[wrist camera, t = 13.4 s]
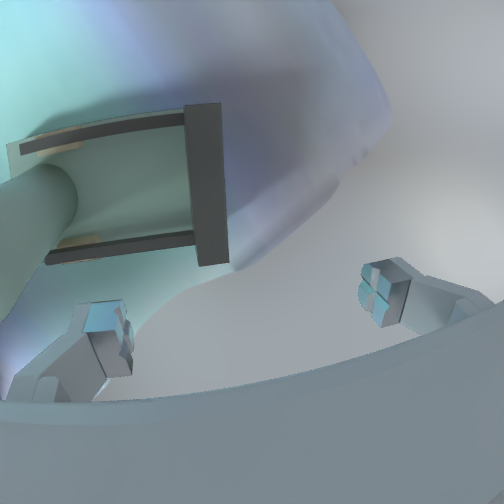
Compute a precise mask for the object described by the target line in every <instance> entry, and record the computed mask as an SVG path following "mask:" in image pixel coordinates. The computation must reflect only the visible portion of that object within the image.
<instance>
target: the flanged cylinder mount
mask: <svg viewBox="0 0 504 504" xmlns="http://www.w3.org/2000/svg"><path fill="white" fill-rule="evenodd" d="M173 113H183V108H182V109H173V110H164V111H156V112H148V113H141V114H135V115H128V116H122V117H116V118H111V119H105V120H100V121H95V122H90V123H85V124H80V125H76V126H71V127H67V128H63V129H59V130H55V131H51V132H47V133H43V134H40V135H36V136H32V137H29V138H25V139H22V140H19V141H15V142H12V143H9V144H6V146H7V153H8V160H9V166H10V172H11V178H12V179H10V180H9V181H7V182H5V183H3V184H2V185H0V322H1V321H2V320H4V319H5V318H6V317H7V316H8V314H9V313H10V311H11V310H12V308H13V306H14V305H15V303H16V301H17V300H18V298H19V296H20V295H21V293H22V291H23V290H24V288H25V287H26V285H27V284H28V282H29V281H30V279H31V277H32V276H33V274H34V273H35V271H36V270H37V268H38V267H39V266H40V264H41V263H42V262H44V258H45V257H46V255H47V254H48V253H49V251H50V250H54V249H60V248H67V247H73V246H80V245H86V244H93V243H100V242H106V241H113V240H120V239H127V238H134V237H142V236H149V235H156V234H164V233H171V232H179V231H187V230H193V224H192V214H191V204H190V194H189V183H188V171H187V158H186V145H185V130H184V125H181V126H172V127H164V128H156V129H148V130H141V131H135V132H128V133H122V134H116V135H110V136H105V137H99V138H94V139H89V140H84V141H79V142H75V143H70V144H66V145H61V146H57V147H53V148H49V149H45V150H41V151H37V152H33V153H30V154H26V155H22V156H20V149H19V144H22V143H25V142H28V141H32V140H35V139H39V138H43V137H47V136H51V135H55V134H59V133H63V132H67V131H71V130H76V129H80V128H85V127H90V126H95V125H100V124H105V123H111V122H117V121H122V120H129V119H135V118H142V117H149V116H157V115H165V114H173ZM221 124H222V119H221ZM222 145H223V141H222ZM223 165H224V161H223ZM224 183H225V179H224ZM225 201H226V197H225ZM226 217H227V214H226ZM227 233H228V230H227ZM96 259H100V258H95V259H88V260H81V261H74V262H67V263H61V264H68V263H75V262H82V261H89V260H96Z"/></svg>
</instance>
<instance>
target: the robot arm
mask: <svg viewBox="0 0 504 504" xmlns="http://www.w3.org/2000/svg"><path fill="white" fill-rule="evenodd" d="M361 276H362V278H363V281H362V282H361V283H360V285H359V289H358V297H359V302H360V304H361V306H362V307H363V308H364V309H365V310H366V311H369V312H371V313H372V315H371V317H372V318H373V320H374V321H375V322H376V323H377V324H378V325H379V326H380V328H383V327H386V326H390V325H394V324H397V323H400V324H401V325H403V326H405V327H407V328H408V329H410V330H412V331H414V332H416V333H418V334H420V335H422V336H419V337H417V338H414V339H411V340H409V341H406V342H403V343H400V344H397V345H394V346H391V347H388V348H385V349H382V350H379V351H376V352H373V353H370V354H367V355H364V356H360V357H357V358H353V359H350V360H347V361H343V362H340V363H336V364H333V365H329V366H325V367H322V368H317V369H314V370H310V371H306V372H302V373H298V374H294V375H289V376H285V377H280V378H276V379H271V380H266V381H261V382H256V383H251V384H246V385H240V386H235V387H229V388H223V389H217V390H211V391H204V392H197V393H191V394H182V395H174V396H166V397H158V398H146V399H134V400H121V401H120V400H119V401H101V402H91V401H92V399H93V398H94V397H95V395H96V394H97V393H98V391H99V390H100V388H101V387H102V386H103V384H104V383H105V381H106V380H107V378H113V377H122V376H130V375H132V368H133V359H132V356H131V353H132V352H133V351H134V337H133V332H132V327H131V324H130V322H129V321H128V320H127V319H126V312H127V310H126V307H125V304H124V302H123V300H112V301H101V302H89V303H82V304H78V305H77V307H76V310H75V312H74V315H73V318H72V321H71V323H70V326H69V329H68V332H67V335H62V336H61V337H59V338H58V339H57V340H56V341H55V342H53V343H52V344H51V345H50V346H49V347H47V348H46V349H45V350H44V351H43V352H41V353H40V354H39V355H38V356H37V357H36V358H34V359H33V360H32V361H31V362H30V363H28V364H27V365H26V366H25V367H24V368H23V369H22V370H20V371H19V372H18V373H17V374H16V375H15V376H14V378H13V381H12V384H11V387H10V389H9V392H8V395H7V398H6V400H0V504H504V300H503V301H501V302H499V303H497V304H494V303H493V302H492V301H491V300H489V299H488V298H487V297H486V296H484V295H483V294H482V293H480V292H479V291H476V290H473V289H470V288H466V287H464V286H460V285H457V284H454V283H450V282H447V281H444V280H441V279H437V278H434V277H431V276H424V275H423V274H421V273H420V272H419V271H417V270H416V269H415V268H414V267H412V266H411V265H410V264H408V263H407V262H406V261H404V260H403V259H402V258H400V257H395V258H390V259H386V260H382V261H377V262H372V263H367V264H364V265H363V267H362V270H361Z"/></svg>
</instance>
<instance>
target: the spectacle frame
mask: <svg viewBox="0 0 504 504" xmlns="http://www.w3.org/2000/svg"><path fill="white" fill-rule="evenodd" d="M181 125H184V130H185V145H186V158H187V171H188V183H189V194H190V204H191V214H192V224H193V230H187V231H179V232H171V233H164V234H156V235H149V236H142V237H134V238H127V239H120V240H113V241H106V242H100V243H93V244H86V245H80V246H73V247H67V248H60V249H54V250H50V251H49V253H48V254H47V255H46V257H45V258H44V261H45V264H46V265H53V264H60V263H67V262H74V261H81V260H88V259H95V258H102V257H109V256H116V255H123V254H131V253H138V252H145V251H153V250H160V249H168V248H175V247H183V246H191V245H195V249H196V254H197V260H198V265H199V267H200V266H208V265H215V264H223V263H229V249H228V233H227V217H226V201H225V183H224V165H223V145H222V124H221V103H209V104H196V105H185V106H183V113H173V114H165V115H157V116H149V117H142V118H135V119H129V120H122V121H117V122H111V123H105V124H100V125H95V126H90V127H85V128H80V129H76V130H71V131H67V132H63V133H59V134H55V135H51V136H47V137H43V138H39V139H35V140H32V141H28V142H25V143H22V144H19V149H20V156H22V155H26V154H30V153H33V152H37V151H41V150H45V149H49V148H53V147H57V146H61V145H66V144H70V143H75V142H79V141H84V140H89V139H94V138H99V137H105V136H110V135H116V134H122V133H128V132H135V131H141V130H148V129H156V128H164V127H172V126H181Z"/></svg>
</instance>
